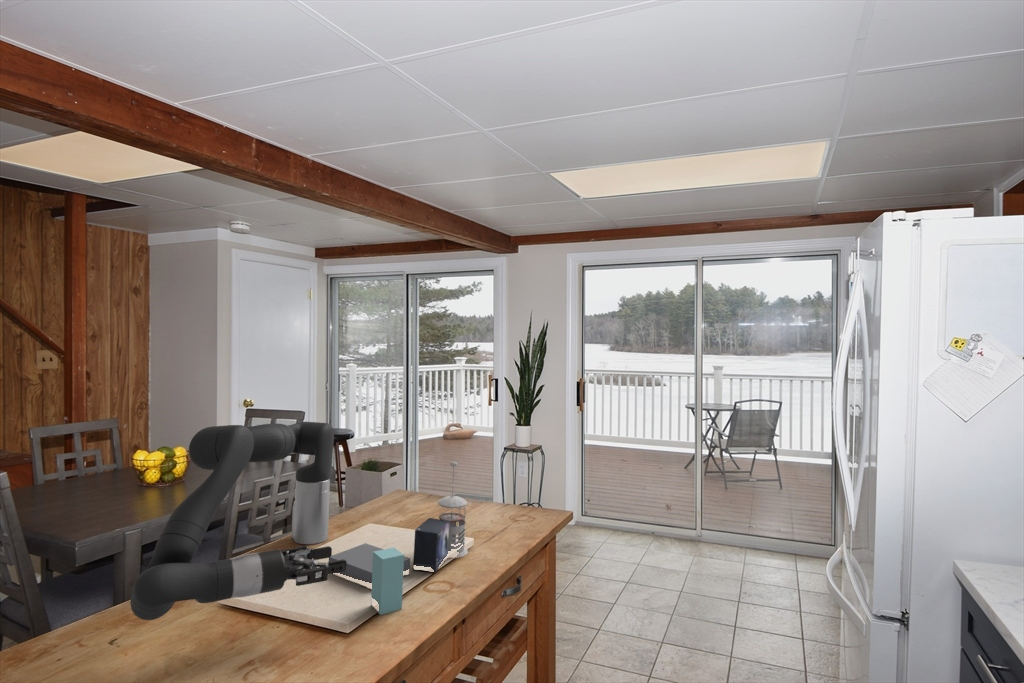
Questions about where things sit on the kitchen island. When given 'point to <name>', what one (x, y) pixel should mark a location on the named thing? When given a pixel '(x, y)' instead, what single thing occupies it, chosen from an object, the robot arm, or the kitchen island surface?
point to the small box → (431, 543)
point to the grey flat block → (361, 562)
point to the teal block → (387, 579)
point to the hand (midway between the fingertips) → (338, 557)
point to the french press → (454, 520)
